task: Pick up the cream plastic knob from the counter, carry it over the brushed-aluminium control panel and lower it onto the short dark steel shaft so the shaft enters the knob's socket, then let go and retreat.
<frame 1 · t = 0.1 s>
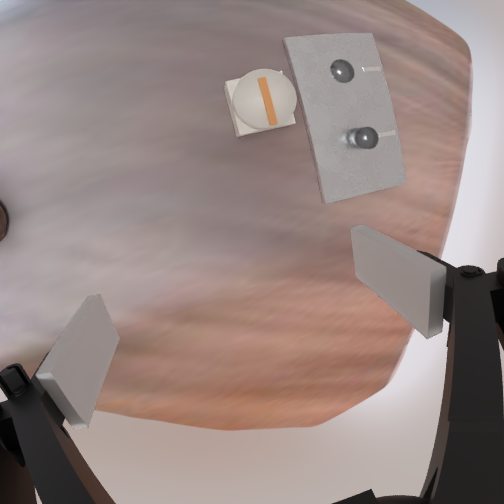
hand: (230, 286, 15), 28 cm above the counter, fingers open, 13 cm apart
panel: (349, 111, 40), on the counter
knob: (256, 106, 39), on the counter
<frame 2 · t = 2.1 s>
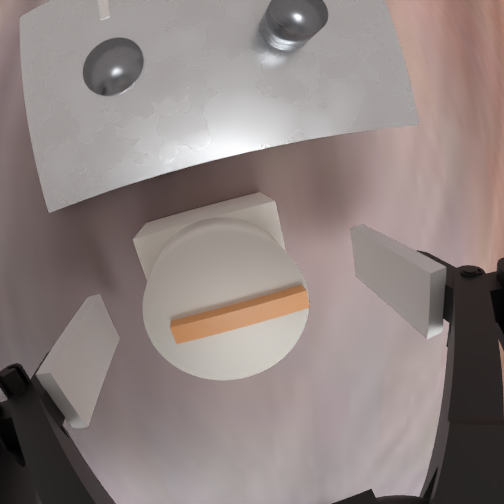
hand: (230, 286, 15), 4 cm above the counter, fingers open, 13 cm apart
panel: (215, 45, 16), on the counter
knob: (217, 261, 19), on the counter
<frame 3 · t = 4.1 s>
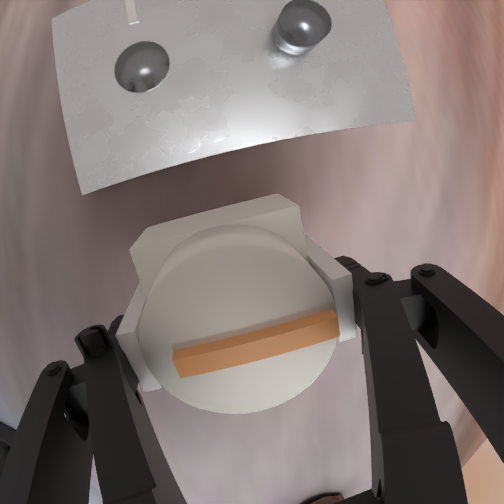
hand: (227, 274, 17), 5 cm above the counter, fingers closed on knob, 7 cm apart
panel: (233, 49, 18), on the counter
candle: (318, 502, 36), on the counter
knob: (228, 272, 17), point 5 cm above the counter, touching gripper
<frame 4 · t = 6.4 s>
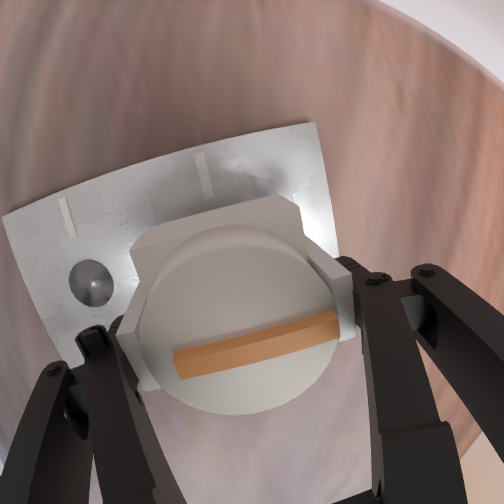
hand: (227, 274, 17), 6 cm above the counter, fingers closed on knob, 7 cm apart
panel: (168, 257, 22), on the counter
knob: (228, 272, 17), point 6 cm above the counter, touching gripper
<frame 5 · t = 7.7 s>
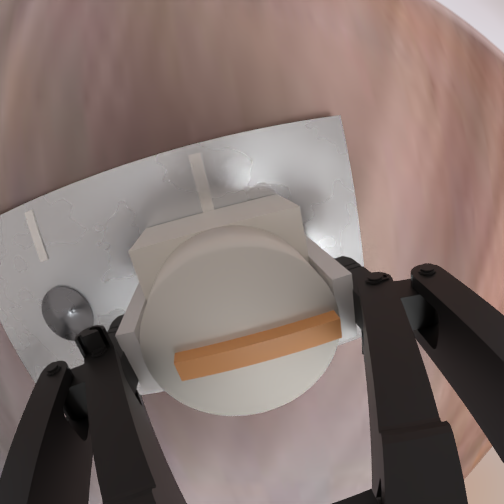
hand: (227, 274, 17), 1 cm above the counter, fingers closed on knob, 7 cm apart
panel: (158, 283, 18), on the counter
knob: (227, 273, 17), point 1 cm above the counter, touching gripper
when the fingers open (1 cm above the counter, at t = 8.7 s): knob stays where it is, resting on panel.
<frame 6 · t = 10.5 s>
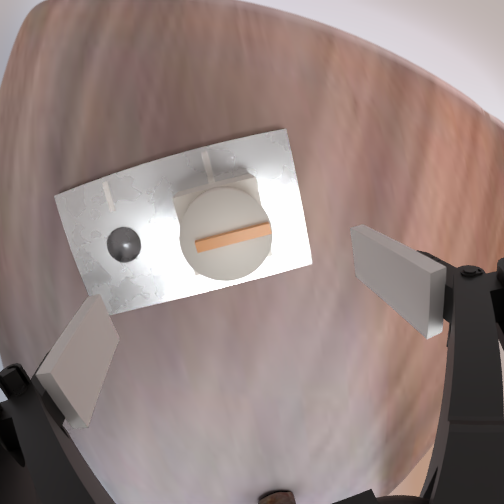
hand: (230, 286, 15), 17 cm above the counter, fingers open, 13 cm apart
panel: (181, 226, 31), on the counter
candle: (274, 496, 50), on the counter
knob: (221, 217, 30), point 1 cm above the counter, touching panel
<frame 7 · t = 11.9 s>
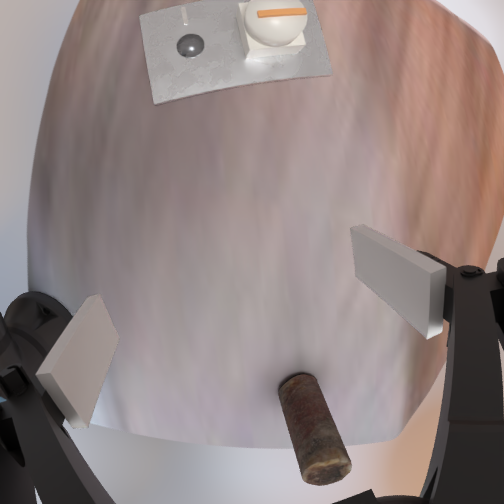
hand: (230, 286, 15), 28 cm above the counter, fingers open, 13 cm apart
panel: (235, 40, 35), on the counter
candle: (296, 386, 53), on the counter
knob: (266, 33, 34), point 1 cm above the counter, touching panel
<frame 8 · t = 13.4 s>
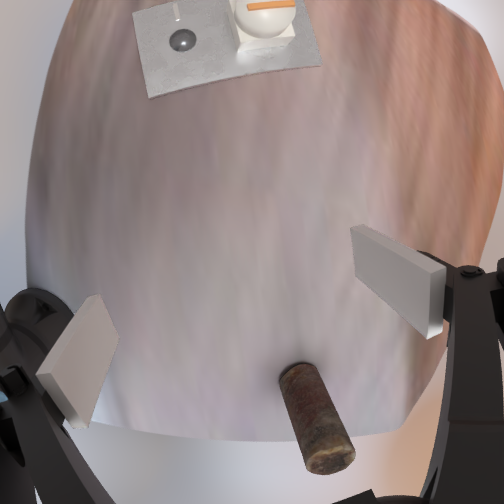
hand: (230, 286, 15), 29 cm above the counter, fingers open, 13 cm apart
panel: (226, 34, 36), on the counter
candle: (297, 377, 54), on the counter
knob: (256, 26, 35), point 1 cm above the counter, touching panel
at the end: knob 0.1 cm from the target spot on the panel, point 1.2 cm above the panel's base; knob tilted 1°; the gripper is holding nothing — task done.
